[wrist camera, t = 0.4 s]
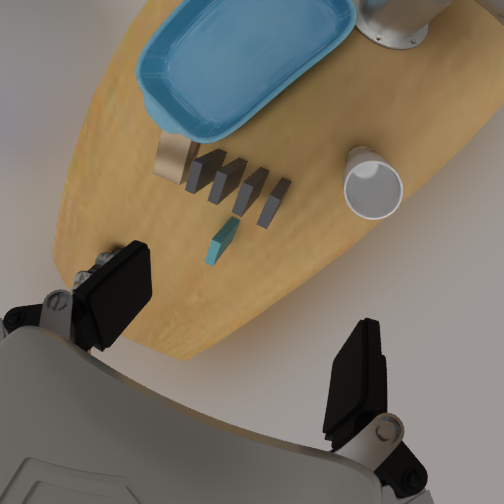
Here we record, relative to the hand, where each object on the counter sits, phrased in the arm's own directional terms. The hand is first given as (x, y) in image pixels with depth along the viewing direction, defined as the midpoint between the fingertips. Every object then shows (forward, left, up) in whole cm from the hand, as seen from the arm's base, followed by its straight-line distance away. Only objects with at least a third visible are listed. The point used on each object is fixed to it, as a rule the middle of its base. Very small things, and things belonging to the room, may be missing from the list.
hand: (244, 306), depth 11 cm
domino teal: (+20, -8, -35) cm, 41 cm away
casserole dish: (-13, -17, -35) cm, 41 cm away
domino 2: (+9, -10, -35) cm, 38 cm away
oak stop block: (+9, -22, -35) cm, 42 cm away
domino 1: (+9, -14, -35) cm, 39 cm away
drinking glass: (-2, +7, -35) cm, 36 cm away
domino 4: (+9, -2, -35) cm, 36 cm away
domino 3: (+9, -6, -35) cm, 37 cm away
